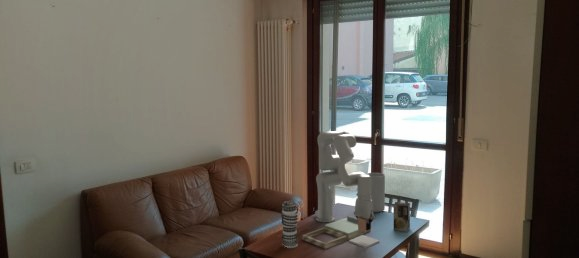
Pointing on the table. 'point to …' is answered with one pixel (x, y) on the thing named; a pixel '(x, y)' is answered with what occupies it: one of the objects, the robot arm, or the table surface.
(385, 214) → the table surface
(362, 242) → the grey mat
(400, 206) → the coffee box
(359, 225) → the terracotta block
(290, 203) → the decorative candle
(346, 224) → the sliding lid
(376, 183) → the cylinder vase
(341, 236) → the well frame
